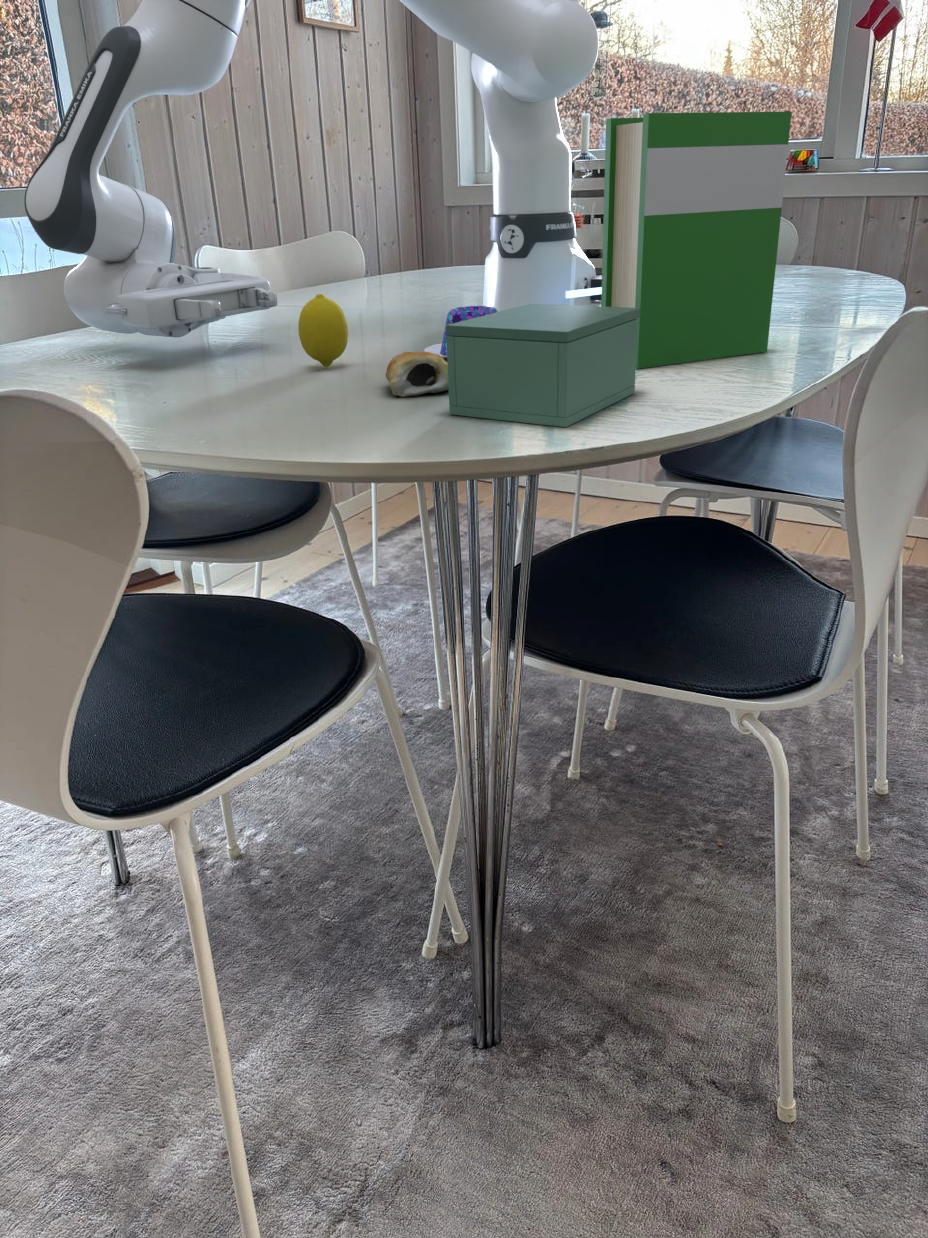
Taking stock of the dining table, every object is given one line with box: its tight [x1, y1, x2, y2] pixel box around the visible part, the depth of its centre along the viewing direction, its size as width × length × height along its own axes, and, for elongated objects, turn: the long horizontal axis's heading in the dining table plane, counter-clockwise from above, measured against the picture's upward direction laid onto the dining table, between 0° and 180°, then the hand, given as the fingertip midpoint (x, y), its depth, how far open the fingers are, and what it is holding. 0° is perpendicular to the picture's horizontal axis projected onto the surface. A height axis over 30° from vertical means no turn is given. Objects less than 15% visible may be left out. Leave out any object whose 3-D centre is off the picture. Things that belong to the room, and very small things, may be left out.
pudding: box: [423, 305, 498, 360], centre depth 109 cm, size 12×12×5 cm
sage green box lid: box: [445, 304, 641, 343], centre depth 82 cm, size 15×12×1 cm
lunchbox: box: [446, 319, 638, 428], centre depth 83 cm, size 15×12×7 cm
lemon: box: [298, 293, 349, 368], centre depth 104 cm, size 6×6×8 cm
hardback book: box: [601, 111, 792, 370], centre depth 99 cm, size 18×7×24 cm, turn 115°
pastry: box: [384, 350, 449, 398], centre depth 93 cm, size 9×7×4 cm
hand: (245, 304), depth 109 cm, fingers open, 8 cm apart
